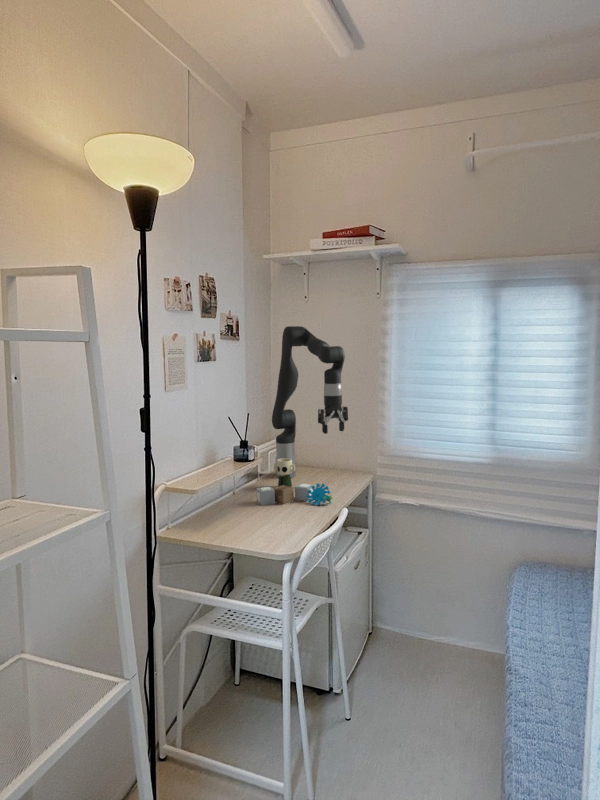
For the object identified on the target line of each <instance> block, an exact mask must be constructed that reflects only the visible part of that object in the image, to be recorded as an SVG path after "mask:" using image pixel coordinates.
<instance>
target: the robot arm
mask: <svg viewBox="0 0 600 800" xmlns="http://www.w3.org/2000/svg"><path fill="white" fill-rule="evenodd" d="M293 347H307V349H308V351H309V352H310V353H311V354H312V355H314V356H316V357H317V358H318V359H319V361H321V363H323V364H332V366H331V368H328V369H325V370H324V374H323V375H324V376H323V377H324V379H323V380H324V383H323V384H324V385H323V386H324V387H323V404H324V405H323V406H324V409H322V408H319V409H318V410H317V412H318V413H317V424H320V425H321V426H322V427H321V428H322V429H321V431H322V433H323V434H325V435H326V434H328V431H329V430H328V428H329V427H328V423H329V421H330V420H331V419H337V420H338V429H339V431H340V432H344V431H345V422H347V421H349V410H348V409H349V408H348V407H347V406H342V405H343V388H342V371H343V367H344V363H345V359H346V352H345V350H344V348H343V347H342V346H340V345H335V346H332V345H331V346H330V344H329V343H328V342H326V341H324V340H322V339H320V338H318V337H316V336H315V335H314V334H313V333H312V332H310V331H309V330H308V329H307V328H306V327H304V326H298V325H297V326H296V325H294V326H293V325H291V326H286V327H284V328H283V332H282V339H281V356H280V358H281V359H280V367H279V373H278V378H277V379H278V380H277V389H276V396H275V401H274V406H273V409H272V413H271V415H272V416H271V424H272V427H273V428H274V430H283V429H284V430H283V432H281V433H280V434H278V435H277V436H276V437H275V454H276V456H275V463H277V460H278V459H284V458H287V459H292V464H293V465H295V466H296V443H295V442H296V441H295V439H296V432H297V431H296V430H297V429H296V427H297V425H296V424H297V423H296V422H297V418H296V414H295V411H294V410H293V409H287V408H285V407H286V404H287V402H288V401H289V399H290V398H291V396H292V395H293V394H294V392H295V391H296V390H297V389H296V388H297V387H298V380H299V371H298V367H297V366H296V364H295V361H294V359H293V356H292V354H293V353H292V351H293ZM276 468H277V467H276ZM292 470H293V467H292ZM275 475H277V476H276V477H277V478H279V476H280V475H279V474H278V473H277V470H275ZM289 475H290V477H291V479H293V478H295V477H296V471H295V472H292V473H291V474H289Z"/></svg>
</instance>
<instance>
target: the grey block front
mask: <svg viewBox="0 0 600 800" xmlns="http://www.w3.org/2000/svg"><path fill="white" fill-rule="evenodd" d="M273 488H274V487H271V486H264V487H257V488H256V503H258V504H259V505H260V506H268V505H275V504H276V503H275V490H274V489H273ZM274 503H275V504H274Z"/></svg>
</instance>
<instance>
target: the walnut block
mask: <svg viewBox="0 0 600 800" xmlns="http://www.w3.org/2000/svg"><path fill="white" fill-rule="evenodd" d="M272 488H273V489H274V490H275V502H277V503H276V504H279V503H280V504H279V505H283V504H285V505H287V504H286V503H288V504H290V503H293V502H294V501H295V487H293V486H291V487H289V486H285V485H282V486H279V487H278V486H276V487H272ZM292 501H293V502H292ZM289 502H290V503H289Z"/></svg>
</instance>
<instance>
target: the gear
mask: <svg viewBox="0 0 600 800" xmlns="http://www.w3.org/2000/svg"><path fill="white" fill-rule="evenodd" d="M311 488H312V489H313V492H311V490H310V489H309V490H308V493H311V494H312V495H311V496H310V495H309V494H308V495H307V498H312V499H308V502H309V503H311V504H312V506H315V505H317V506H321V503H322V504H325V503H326V502H329V503H330V504H332V503H333V502H332V500H333V496H332V495H330V494H331V490H329V489H330V488H329V486H328V485H326V484H324V483H322V484H321V483H316V487H315V485H314V486H312V487H311Z"/></svg>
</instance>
